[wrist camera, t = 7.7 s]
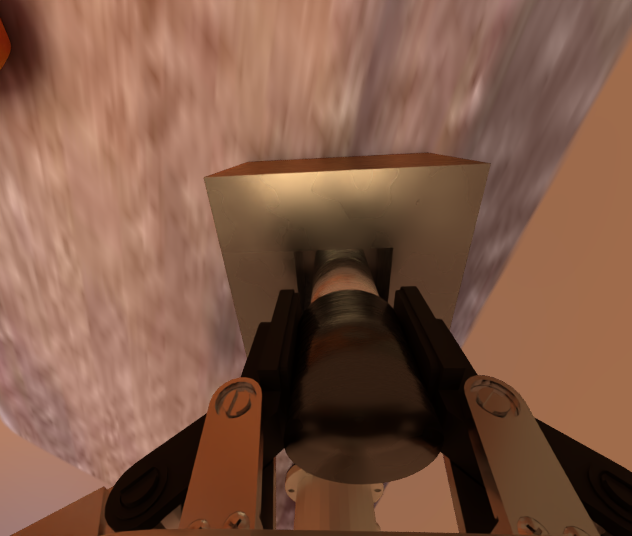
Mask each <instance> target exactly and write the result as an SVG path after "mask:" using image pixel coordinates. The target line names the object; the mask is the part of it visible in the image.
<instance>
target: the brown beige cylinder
mask: <svg viewBox="0 0 632 536" xmlns="http://www.w3.org/2000/svg"><path fill="white" fill-rule="evenodd" d="M443 442H444V434H443V430H442V427H441V425H440V422H439V420H438V417H437V415H436V412H435V410H434V407H433V405H432V402H431V400H430V397H429V395H428V392H427V390H426V387H425V384H424V382H423V379H422V377H421V374H420V372H419V369H418V367H417V364H416V362H415V359H414V357H413V354H412V352H411V349H410V347H409V344H408V342H407V339H406V337H405V334H404V332H403V329H402V327H401V324H400V322H399V319H398V317H397V314H396V312H395V311H394V309H393V308H392V306H391V305H390V304H389V303H388V302H387V301H385V300H384V299H382V298H381V297H379V295H378V292H377V289H376V286H375V283H374V280H373V277H372V274H371V271H370V268H369V265H368V262H367V259H366V256H365V253H364V251H363V249H342V250H317V252H316V255H315V260H314V272H313V284H312V297H311V304H310V305H309V306H308V307H307V308H306V310H305V311H304V313H303V314H302V316H301V318H300V322H299V329H298V336H297V344H296V351H295V359H294V366H293V374H292V381H291V389H290V395H289V401H288V408H287V416H286V423H285V431H284V439H283V443H284V448H285V451H286V453H287V455H288V456H289V458H290V459H291V460H292V461H293V463H295V464H296V465H297V466H298V467H299V468H301V469H302V470H304V471H306V472H308V473H309V474H311V475H314V476H316V477H319V478H322V479H325V480H329V481H333V482H338V483H344V484H361V485H363V484H378V483H385V482H390V481H394V480H398V479H402V478H405V477H407V476H410V475H412V474H414V473H416V472H418V471H420V470H422V469H423V468H425V467H426V466H428V465H429V464H430V463H431V462H433V461H434V459H435V458H436V457H437V456H438V454H439V453H440V451H441V449H442V446H443Z"/></svg>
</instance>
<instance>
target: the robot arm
mask: <svg viewBox="0 0 632 536" xmlns="http://www.w3.org/2000/svg"><path fill="white" fill-rule="evenodd" d="M393 309H394V311H395V312H396V314H397V317H398V319H399V322H400V324H401V327H402V329H403V332H404V334H405V337H406V339H407V342H408V344H409V347H410V349H411V352H412V354H413V357H414V359H415V362H416V364H417V367H418V369H419V372H420V374H421V377H422V379H423V382H424V384H425V387H426V390H427V392H428V395H429V397H430V400H431V402H432V405H433V407H434V410H435V412H436V415H437V417H438V420H439V422H440V425H441V427H442V430H443V434H444V442H443V446H442V449H441V451H440V452H441V453H443V458H444V463H445V468H446V472H447V477H448V482H449V486H450V491H451V496H452V501H453V506H454V510H455V515H456V520H457V525H458V529H459V533H425V532H381V531H380V526H379V525H378V524H377V523H376V520H375V512H374V503H375V502H376V501H378V500H379V498H380V497H381V496H382V494H383V491H384V486H383V483H378V484H363V485H361V484H344V483H338V482H333V481H329V480H325V479H322V478H319V477H316V476H314V475H311V474H309V473H308V472H306V471H304V470H302V469H301V468H299V467H298V466H297V465H294V466H293V467H292V468H291V469H290V470H289V471H288V473H287V475H286V481H285V491H286V492H287V494H288V496H289V497H290V498H291V499H292V500H293V501H295V502H296V505H295V518H294V530H276V455H277V454H278V453H280V452H281V451H282V450H283V449H284V443H283V439H284V431H285V423H286V416H287V408H288V401H289V395H290V389H291V381H292V374H293V366H294V359H295V351H296V344H297V336H298V329H299V322H300V318H301V316H302V314H301V303H300V294H299V293H295V291H294V289H283V290H280V292H279V295H278V299H277V302H276V306H275V309H274V313H273V316H272V320H271V322H261V323H260V324H259V326H258V329H257V331H256V334H255V337H254V340H253V343H252V346H251V349H250V352H249V355H248V358H247V361H246V363H245V366H244V369H243V372H242V375H241V378H236V379H232V380H230V381H228V382H226V383H224V384H223V385H222V386H221V387H219V388H218V389H217V390H216V392H215V393H214V394H213V396H212V398H211V401H210V403H209V407H208V411H207V413H206V414H205V415H204V416H202V417H201V418H199V419H198V420H196V421H195V422H194V423H192V424H191V425H189V426H188V427H186V428H185V429H184V430H182V431H181V432H179V433H178V434H176V435H175V436H174V437H172V438H171V439H169V440H168V441H166V442H165V443H164V444H162V445H161V446H159V447H158V448H156V449H155V450H154V451H152V452H151V453H149V454H148V455H146V456H145V457H144V458H142V459H141V460H139V461H138V462H136V463H135V464H134V465H133V466H132V467H130V468H129V469H128V470H127V471H126V472H125V473H124V474H123V475H122V476H121V477H120V478H119V480H118V481H117V482H116V484H115V485H114V486H113V487H111V488H109V489H106V488H105V487H102V488H100V489H98V490H96V491H94V492H92V493H91V494H89V495H86V496H85V497H83V498H81V499H79V500H77V501H75V502H73V503H71V504H69V505H68V506H66V507H64V508H62V509H60V510H58V511H56V512H54V513H52V514H50V515H48V516H47V517H45V518H43V519H41V520H39V521H37V522H35V523H34V524H31V525H29V526H28V527H26V528H24V529H22V530H20V531H18V532H16V533H14V534H12V535H10V536H632V472H630V471H629V470H627V469H626V468H624V467H622V466H621V465H619V464H617V463H615V462H613V461H612V460H610V459H608V458H606V457H604V456H603V455H601V454H599V453H597V452H595V451H594V450H592V449H590V448H588V447H586V446H585V445H583V444H581V443H579V442H577V441H575V440H574V439H572V438H570V437H569V436H567V435H565V434H563V433H561V432H560V431H558V430H556V429H554V428H552V427H550V426H549V425H547V424H545V423H543V422H542V421H540V420H538V419H536V418H534V416H533V415H532V413H531V411H530V409H529V407H528V406H527V404H526V402H525V401H524V399H523V398H522V397H521V395H520V394H519V393H518V392H517V391H516V390H515V389H514V388H512V387H511V386H510V385H508V384H506V383H505V382H503V381H501V380H499V379H496V378H494V377H490V376H485V375H477V373H476V372H475V370H474V369H473V367H472V365H471V364H470V362H469V361H468V359H467V357H466V356H465V354H464V353H463V351H462V350H461V348H460V346H459V345H458V343H457V342H456V340H455V339H454V337H453V335H452V334H451V332H450V331H449V329H448V327H447V326H446V324H445V323H444V321H443V320H442V319H436V318H435V316H434V315H433V313H432V311H431V310H430V308H429V306H428V305H427V303H426V301H425V300H424V298H423V296H422V295H421V293H420V291H419V290H418V288H417V287H416V286H401V287H400V290H396V291H395V298H394V307H393Z"/></svg>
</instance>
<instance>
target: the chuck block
mask: <svg viewBox="0 0 632 536" xmlns="http://www.w3.org/2000/svg"><path fill="white" fill-rule="evenodd" d="M490 164H491V163H486V162H480V161H474V160H468V159H463V158H457V157H451V156H445V155H439V154H433V153H411V154H391V155H372V156H352V157H333V158H314V159H294V160H275V161H255V162H246V163H243V164H240V165H237V166H235V167H232V168H229V169H226V170H223V171H220V172H217V173H215V174H212V175H209V176H206V177H204V181H205V185H206V190H207V194H208V198H209V202H210V206H211V210H212V215H213V219H214V223H215V227H216V231H217V235H218V239H219V244H220V248H221V252H222V256H223V260H224V264H225V268H226V273H227V277H228V281H229V285H230V289H231V293H232V298H233V302H234V306H235V310H236V314H237V318H238V322H239V327H240V331H241V335H242V339H243V343H244V347H245V352H246V356H247V358H248V355H249V352H250V349H251V346H252V343H253V340H254V337H255V334H256V331H257V329H258V326H259V324H260V323H261V322H271V320H272V316H273V313H274V309H275V306H276V302H277V299H278V295H279V292H280V290H283V289H294V291H295V293H299V294H300V303H301V314H303V313H304V311H305V310H306V308H307V307H308V306H309V305H310V304H311V297H312V284H313V272H314V260H315V255H316V252H317V250H342V249H363V251H364V253H365V256H366V259H367V262H368V265H369V268H370V271H371V274H372V277H373V280H374V283H375V286H376V289H377V292H378V295H379V297H381V298H382V299H384V300H385V301H387V302H388V303H389V304H390V305H391V306H392V308H393V307H394V298H395V291H396V290H400V287H401V286H416V287H417V288H418V290H419V291H420V293H421V295H422V296H423V298H424V300H425V301H426V303H427V305H428V306H429V308H430V310H431V311H432V313H433V315H434V316H435V318H436V319H442V320H443V321H444V323H445V324H446V326H447V327H448V329H449V330H450V326H451V322H452V318H453V314H454V310H455V306H456V302H457V298H458V294H459V289H460V285H461V281H462V277H463V273H464V269H465V265H466V261H467V257H468V253H469V249H470V245H471V241H472V237H473V233H474V229H475V225H476V221H477V217H478V213H479V209H480V205H481V201H482V197H483V193H484V188H485V184H486V180H487V176H488V172H489V168H490Z"/></svg>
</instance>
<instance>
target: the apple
mask: <svg viewBox="0 0 632 536" xmlns="http://www.w3.org/2000/svg"><path fill="white" fill-rule="evenodd" d="M10 51H11V43H10V40H9V38H8V35H7V33H6V31H5V28H4V26H3V23H2V21H1V18H0V70H1V68H2V67H3V65H4V64H5V62H6V60H7V58H8V57H9V54H10Z"/></svg>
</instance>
